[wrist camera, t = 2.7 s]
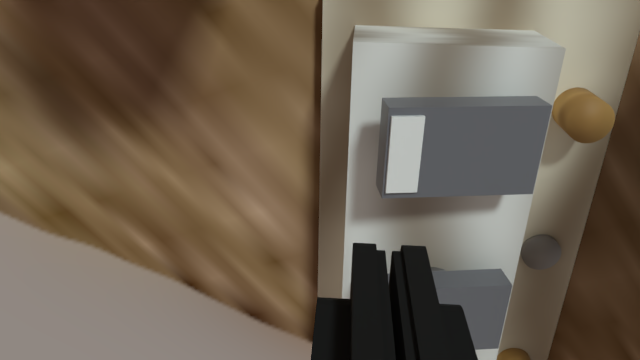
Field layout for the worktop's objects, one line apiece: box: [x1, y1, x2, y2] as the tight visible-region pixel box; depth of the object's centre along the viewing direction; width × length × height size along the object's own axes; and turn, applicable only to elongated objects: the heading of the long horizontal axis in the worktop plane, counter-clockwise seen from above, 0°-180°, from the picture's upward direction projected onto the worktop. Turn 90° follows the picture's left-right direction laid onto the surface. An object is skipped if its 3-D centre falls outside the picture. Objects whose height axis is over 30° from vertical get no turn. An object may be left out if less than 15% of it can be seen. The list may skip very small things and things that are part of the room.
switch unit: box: [318, 0, 640, 360], centre depth 27 cm, size 14×26×5 cm, turn 179°
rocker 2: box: [388, 267, 512, 350], centre depth 23 cm, size 6×4×2 cm, turn 89°
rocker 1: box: [376, 96, 552, 199], centre depth 20 cm, size 6×4×2 cm, turn 89°
